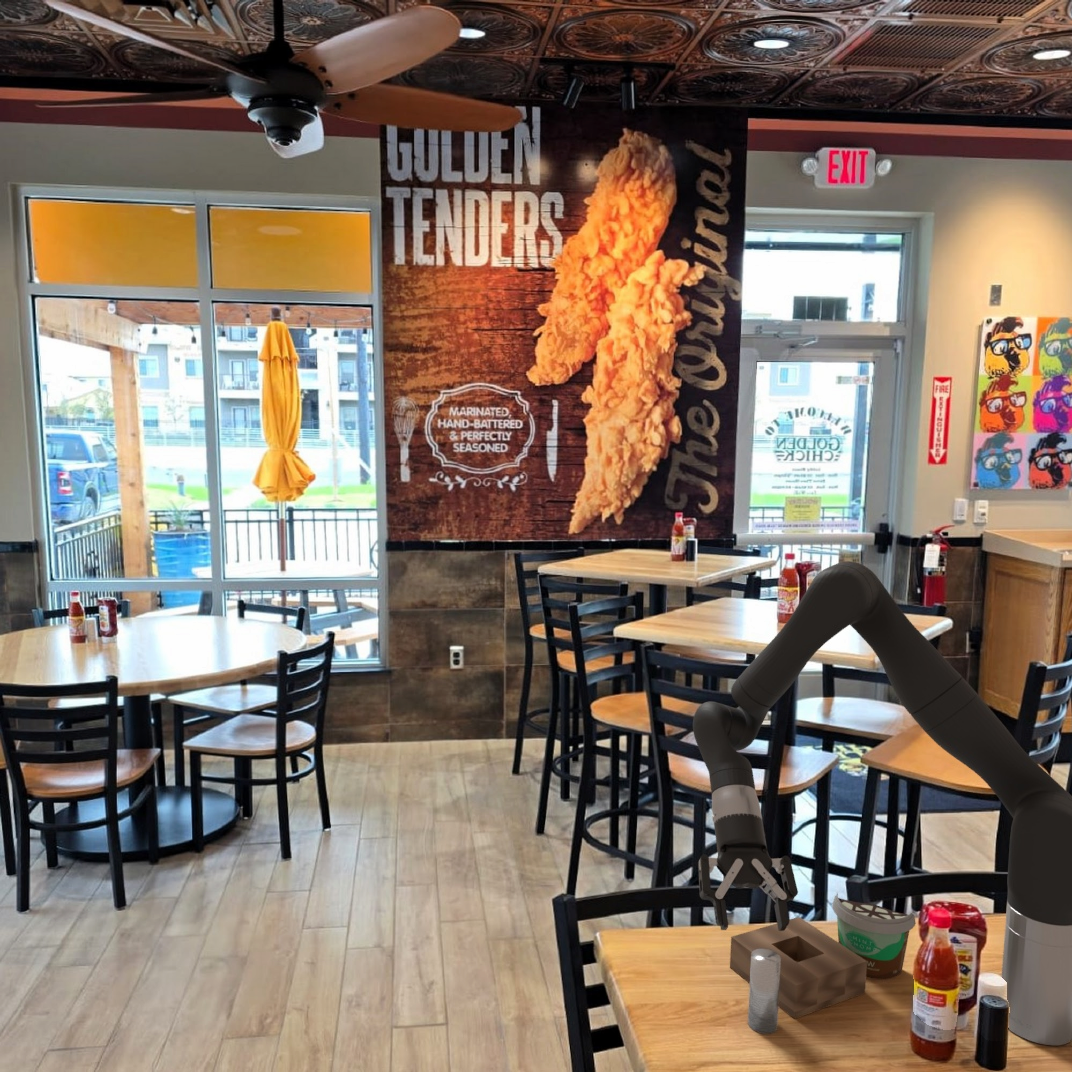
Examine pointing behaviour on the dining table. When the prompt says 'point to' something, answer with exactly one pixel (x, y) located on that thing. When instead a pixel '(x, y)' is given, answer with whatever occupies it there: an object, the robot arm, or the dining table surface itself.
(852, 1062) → the dining table surface
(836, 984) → the socket block
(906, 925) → the food container
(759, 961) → the steel pin
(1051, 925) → the robot arm
